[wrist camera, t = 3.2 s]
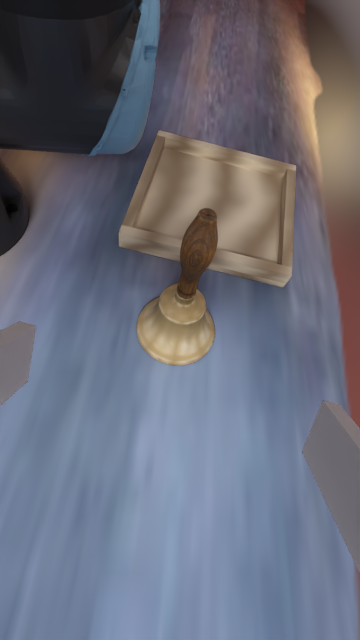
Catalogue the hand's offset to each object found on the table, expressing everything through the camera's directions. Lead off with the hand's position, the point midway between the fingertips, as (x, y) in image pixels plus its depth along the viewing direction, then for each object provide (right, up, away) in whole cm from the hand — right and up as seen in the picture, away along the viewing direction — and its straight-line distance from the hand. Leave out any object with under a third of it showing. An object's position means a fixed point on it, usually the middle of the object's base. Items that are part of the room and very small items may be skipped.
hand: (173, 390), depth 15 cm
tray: (+5, +18, +30) cm, 35 cm away
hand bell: (0, +2, +21) cm, 21 cm away
